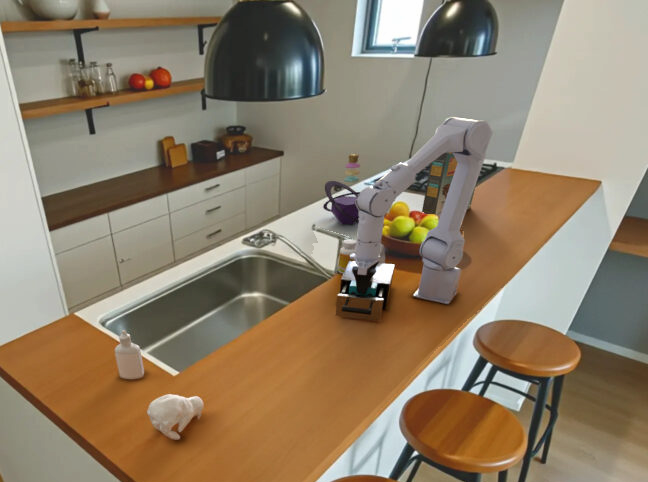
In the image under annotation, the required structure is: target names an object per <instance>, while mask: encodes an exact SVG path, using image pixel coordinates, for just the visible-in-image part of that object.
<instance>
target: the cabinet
mask: <svg viewBox="0 0 648 482" xmlns="http://www.w3.org/2000/svg"><path fill="white" fill-rule="evenodd" d="M353 266H357V264H356V262H355V261H349V263H348V265H347V267H346V270H345V272H344V274H342V276H341V278H340V287H339V294H341V292H342V290H343V288H344V285H345V283H346V282H349V283H351V281H356V280H355V277H354V274H353V272H352V268H353ZM395 267H396V264H392V263H384V264H381V263H378V265H377V266H376V268H375V269H376V272H375V274H374V275H373V283H377V285H379V286H385V291H384V298H383V299H384V300H383V306H382V311H386V310H387V306H388V304H389V303H388V302H389V299H390V295H391V294H390V293H391V291H392V284H393V278H394V272H395Z"/></svg>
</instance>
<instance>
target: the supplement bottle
mask: <svg viewBox="0 0 648 482" xmlns="http://www.w3.org/2000/svg"><path fill="white" fill-rule="evenodd" d="M356 243H357V240H355V239H351V238H348V239H344V240H342V247H341V248H340V249H339V254H338V255H339V256H338V266H337V268H338V269H337V272H338V273H340V274H342V275H343V274H344V272H345V270H346V267H347V265H348V263H349V261H355V260H354V259H350V255H351V254H355V252H356Z"/></svg>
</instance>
